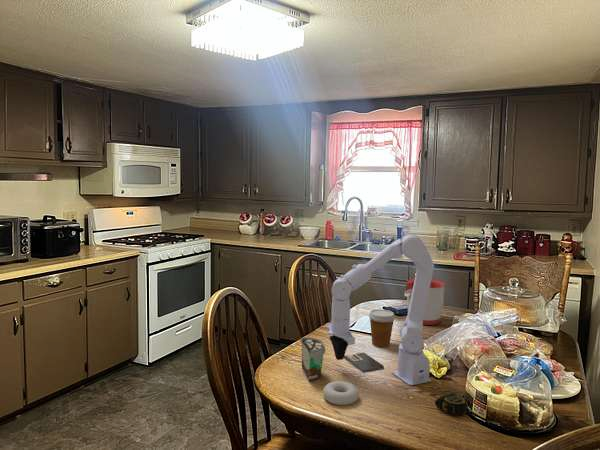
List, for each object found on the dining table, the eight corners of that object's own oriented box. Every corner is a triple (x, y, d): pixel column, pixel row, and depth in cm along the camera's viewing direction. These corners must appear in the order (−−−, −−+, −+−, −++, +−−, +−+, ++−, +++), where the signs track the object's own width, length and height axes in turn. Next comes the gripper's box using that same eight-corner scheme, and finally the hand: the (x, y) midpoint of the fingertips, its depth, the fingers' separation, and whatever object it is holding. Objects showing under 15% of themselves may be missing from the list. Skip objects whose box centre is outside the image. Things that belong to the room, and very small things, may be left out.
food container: (329, 382, 135) (330, 350, 134) (309, 383, 134) (310, 351, 133) (319, 365, 147) (319, 335, 146) (300, 366, 146) (301, 336, 145)
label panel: (383, 368, 146) (383, 365, 145) (362, 372, 142) (362, 368, 142) (363, 354, 156) (364, 351, 156) (343, 358, 153) (343, 354, 153)
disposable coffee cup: (366, 347, 163) (367, 315, 162) (368, 338, 172) (370, 308, 171) (393, 350, 161) (394, 317, 159) (394, 341, 170) (395, 310, 168)
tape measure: (451, 403, 124) (452, 390, 124) (472, 414, 118) (473, 400, 118) (434, 409, 121) (435, 396, 120) (455, 421, 115) (455, 407, 114)
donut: (365, 398, 126) (336, 386, 133) (366, 386, 126) (336, 375, 132) (345, 412, 119) (315, 399, 125) (346, 399, 118) (315, 387, 125)
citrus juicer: (395, 317, 199) (397, 272, 196) (429, 314, 204) (431, 271, 202) (414, 329, 184) (416, 281, 182) (450, 325, 189) (453, 278, 187)
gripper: (318, 312, 146) (318, 352, 148) (340, 325, 133) (339, 369, 135) (337, 309, 149) (337, 349, 151) (361, 322, 136) (359, 366, 138)
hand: (339, 358), depth 143 cm, fingers closed
